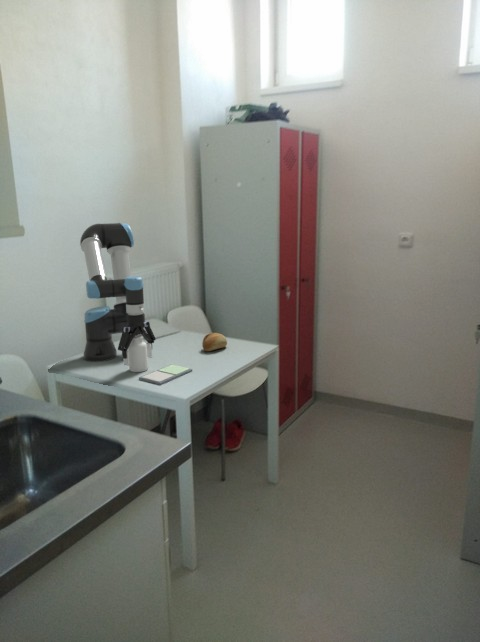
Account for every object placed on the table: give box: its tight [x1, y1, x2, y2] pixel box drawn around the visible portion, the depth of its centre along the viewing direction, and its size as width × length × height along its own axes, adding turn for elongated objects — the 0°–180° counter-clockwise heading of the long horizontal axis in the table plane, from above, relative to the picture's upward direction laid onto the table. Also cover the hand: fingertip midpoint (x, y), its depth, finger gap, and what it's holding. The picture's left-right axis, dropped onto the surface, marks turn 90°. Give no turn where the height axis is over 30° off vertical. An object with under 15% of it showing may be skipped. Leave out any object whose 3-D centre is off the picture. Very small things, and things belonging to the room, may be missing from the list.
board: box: [138, 364, 193, 386], centre depth 213 cm, size 12×20×1 cm, turn 146°
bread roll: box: [201, 332, 228, 352], centre depth 249 cm, size 10×15×8 cm, turn 143°
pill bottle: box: [127, 334, 149, 373], centre depth 219 cm, size 8×8×15 cm
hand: (138, 361), depth 220 cm, fingers open, 13 cm apart
